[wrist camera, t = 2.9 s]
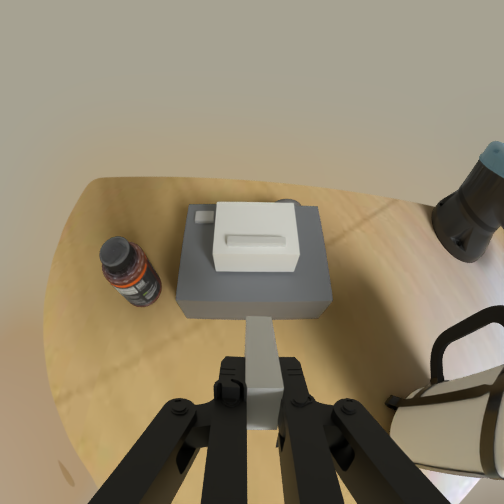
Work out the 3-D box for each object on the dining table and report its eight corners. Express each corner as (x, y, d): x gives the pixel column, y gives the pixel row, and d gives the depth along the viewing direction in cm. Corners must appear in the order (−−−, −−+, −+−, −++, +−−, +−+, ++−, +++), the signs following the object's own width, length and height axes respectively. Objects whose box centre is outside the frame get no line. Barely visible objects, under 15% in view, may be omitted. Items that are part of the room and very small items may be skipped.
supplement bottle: (134, 267, 40) (106, 224, 30) (168, 276, 39) (145, 232, 29) (120, 302, 36) (84, 266, 27) (154, 313, 36) (124, 279, 26)
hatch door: (289, 223, 35) (294, 199, 31) (293, 271, 32) (301, 251, 28) (219, 222, 35) (216, 197, 31) (215, 271, 31) (212, 250, 27)
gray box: (306, 222, 45) (316, 191, 38) (317, 318, 36) (334, 298, 30) (197, 221, 44) (190, 189, 38) (187, 318, 36) (174, 298, 29)
